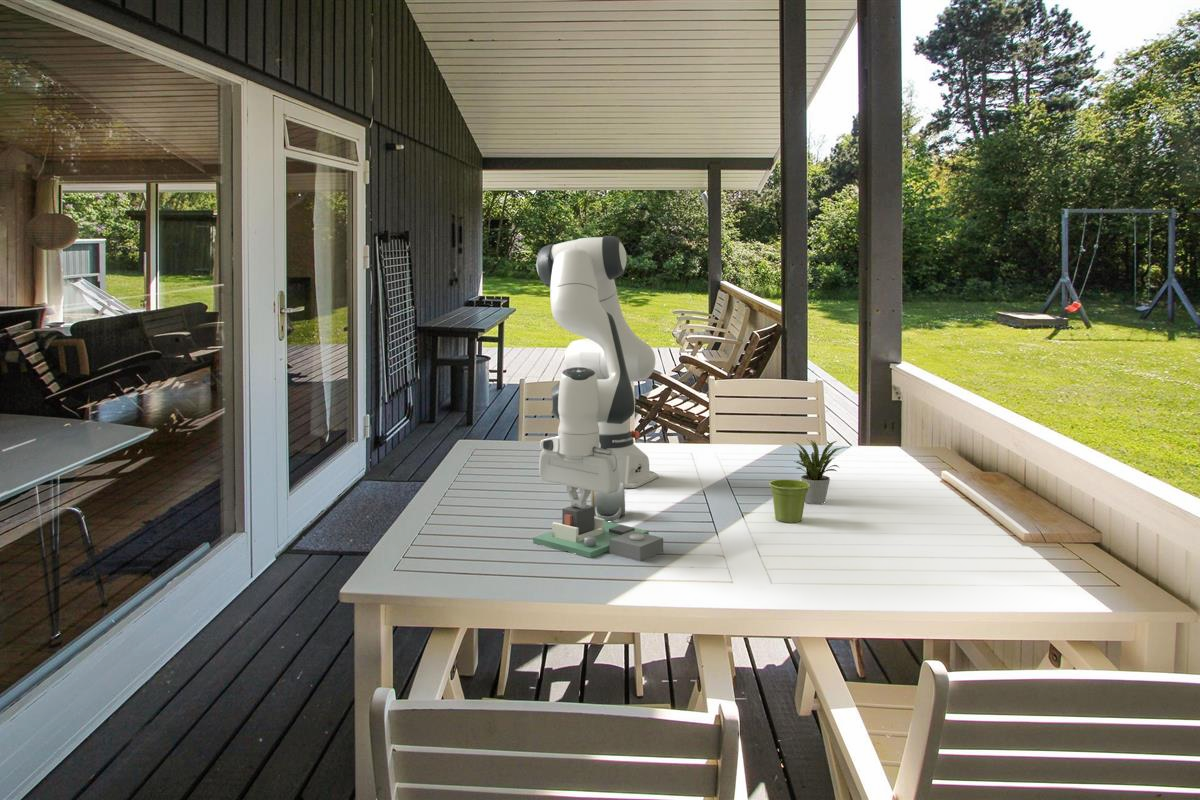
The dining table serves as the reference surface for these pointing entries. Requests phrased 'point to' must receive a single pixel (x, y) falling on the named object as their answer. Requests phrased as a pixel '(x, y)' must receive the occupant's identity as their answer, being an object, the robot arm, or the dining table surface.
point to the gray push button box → (636, 545)
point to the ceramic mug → (609, 504)
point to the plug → (579, 518)
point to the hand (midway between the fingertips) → (578, 507)
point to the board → (584, 537)
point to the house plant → (816, 472)
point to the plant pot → (789, 499)
